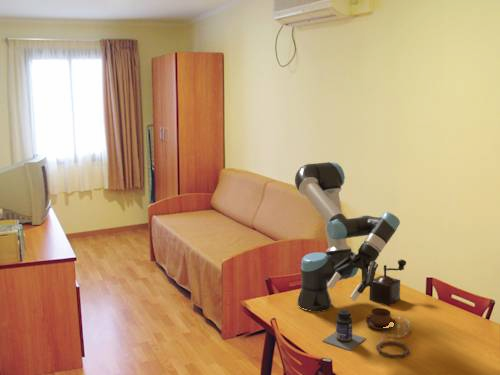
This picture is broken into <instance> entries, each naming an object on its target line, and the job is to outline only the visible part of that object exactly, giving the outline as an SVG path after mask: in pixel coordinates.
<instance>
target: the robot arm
mask: <svg viewBox="0 0 500 375" xmlns="http://www.w3.org/2000/svg"><path fill="white" fill-rule="evenodd" d="M345 177H346V176H345V172H344V170H343V167H342V166H341V165H340V164H339V163H338V162H329V161H328V162H319V163H307V164H304V165H302V166H301V167H299V169H298V170H297V172H296V173H295V176H294V183H295V184H294V185H295V186H296V189H297V190H298V193H300V195H303V196H305V197H306V198H307V200H308V201H309V202H310V203H311V205H312V206H313V207H314V208H315V209H316V210H315V211H317V213H318V214H319V215H320V217H322V219H323V222H324V227H325V233H326V234H325V236H326V240H327V241H326V242H327V246H328V248H327V249H326V250H325V252H320V251H319V252H316V251H315V252H310V253H308V254H305V255H304V256H303V257H302V258H301V261H300V262H301V265H300V270H301V272H300V273H301V278H300V279H301V281H300V282H301V286H300V287H301V289H300V292H299V295H298V298H297V306H298V305H299V306H300V307H301V308H304V309H307V310H311V311H320V312H324V311H323V310H325V311H328V310H329V308H330V309H331V308H332V299H331V296H330V293H329V289H331V290H333V289H334V288H335V286H336V284H338V282H339V281H340V280H347V279H350V278H354V277H355V276H356V275H357V274H358V272H359V270H361V281H360V282H359V283H358V284H357V286H356V287H355V288H354V290H353V292H352V293H351V294H350V296H349V298H351V300H352V301H353V302H356V301H357V300H358V298H359V297H360V295H362V293H364V291H365V289H366V288H368V287H369V288H370V287H372V286H373V281H374V279H375V278H376V277H375V275H376V271H377V268H378V266H379V264H378V263H377V262H376V260H377V259H378V257H379V256H380V253H382V251H383V250H384V248H385V246H387V244H388V243H389V241H390V240H391V238H392V237H393V235H394V234H395V233H396V231H397V229H398V228H399V225H400V224H401V221H400V219H399V218H398V217H397V216H396V215H395V214H393V213H391V212H390V211H385V212H383V213H382V214H381V215H380V217H376V216H372V215H361V216H359V217H354V218H353V217H352V218H347V216H345V214H344V213H343V211H342V205H341V198H340V192H341V191H342V186H344V184H345V179H346V178H345ZM364 236H366V238H365V240H364V241H363V243H362V244H361V245H360V247H359V248H358V250H357V252H358V253H356V252H354V251H352V247H351V246H349V245H348V243H347V242H348V240H347V239H349V238H357V237H364ZM328 288H329V289H328ZM301 308H300V309H301ZM311 311H310V312H311Z"/></svg>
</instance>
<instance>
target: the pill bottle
mask: <svg viewBox="0 0 500 375" xmlns="http://www.w3.org/2000/svg"><path fill="white" fill-rule="evenodd" d="M351 314H352V313H351V311H350V310H347V309H340V310H338V311H337V317H336V319H335V321H336V322H335V332H336V339H337V340H338V341H340V342H350V341H351V340H352V334H353V319H352V317H351Z"/></svg>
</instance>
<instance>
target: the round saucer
mask: <svg viewBox="0 0 500 375" xmlns="http://www.w3.org/2000/svg"><path fill="white" fill-rule="evenodd" d="M384 346H396V347H400V348H402V349H403V350H404V351H403V353H394V354H391V353H389V352H385V351H383V350H382V347H384ZM375 349H376V350H377V353H378V354H379V355H380V356H384V357H386V358H389V359H404V358H406V357H407V356H408V355H410V349H409V347H408V346H407V345H406V344H405V343H401V342H399V341H394V340H388V341H387V340H386V341H385V340H383V341H381V342H379V343H377V345H376V346H375Z"/></svg>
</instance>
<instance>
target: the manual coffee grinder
mask: <svg viewBox="0 0 500 375" xmlns="http://www.w3.org/2000/svg"><path fill="white" fill-rule="evenodd" d="M397 264H398V267H397V268H392V267H389V268H387V267H388V266H387V264H384V265H383V275H379V276H377V277H374V281H373V286H372V287H370V286H369V301H371V302H374V303H378V304H382V305H385V306H391V305H393V304H395V303H397V302H398V301H399V300H400V299H401V279H398V278H393V277H391V276H389V275H387V271H404V270H405V266H406V264H407V261H406V260H404V259H398V261H397Z"/></svg>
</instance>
